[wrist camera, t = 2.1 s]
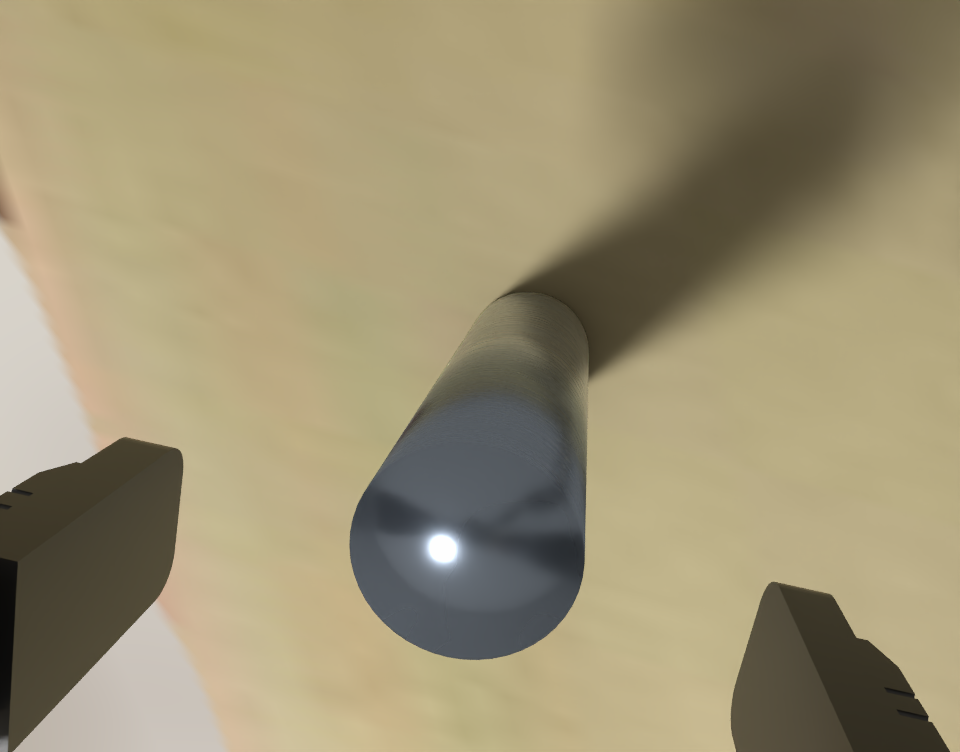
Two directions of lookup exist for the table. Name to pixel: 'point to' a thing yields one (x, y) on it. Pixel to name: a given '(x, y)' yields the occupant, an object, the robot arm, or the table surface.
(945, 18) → the table surface
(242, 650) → the table surface
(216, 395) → the table surface
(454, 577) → the pin
